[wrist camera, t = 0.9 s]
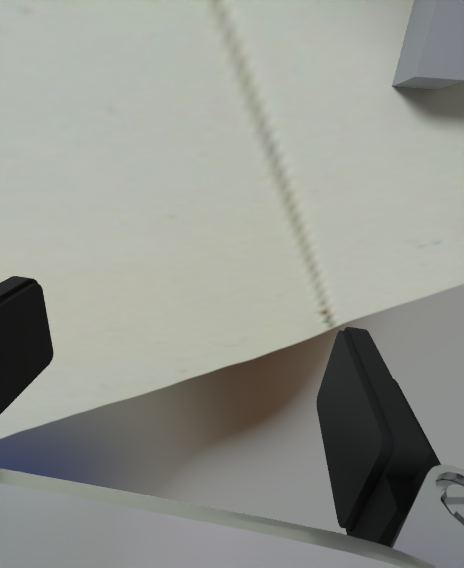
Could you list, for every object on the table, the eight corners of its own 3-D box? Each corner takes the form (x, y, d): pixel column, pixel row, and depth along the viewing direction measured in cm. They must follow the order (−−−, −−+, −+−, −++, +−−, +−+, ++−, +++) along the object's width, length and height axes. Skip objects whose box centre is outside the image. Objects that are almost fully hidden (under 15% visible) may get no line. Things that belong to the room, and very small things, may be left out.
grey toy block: (413, 2, 26) (443, -26, 21) (462, 5, 26) (504, -23, 21) (391, 86, 29) (414, 76, 24) (436, 89, 28) (467, 80, 24)
